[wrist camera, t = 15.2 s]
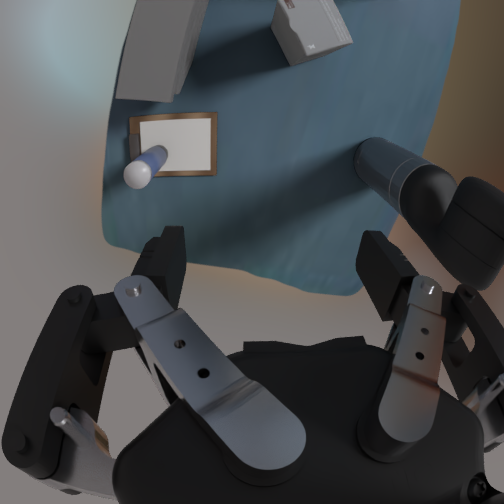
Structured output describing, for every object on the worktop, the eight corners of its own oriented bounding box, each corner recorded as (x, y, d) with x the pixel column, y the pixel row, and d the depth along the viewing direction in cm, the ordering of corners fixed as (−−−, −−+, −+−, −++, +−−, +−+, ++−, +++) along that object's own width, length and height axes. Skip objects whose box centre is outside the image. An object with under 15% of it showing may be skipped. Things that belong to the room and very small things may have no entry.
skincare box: (324, 56, 38) (361, 45, 25) (284, 68, 39) (307, 59, 26) (304, 14, 34) (332, -14, 20) (264, 25, 35) (276, -2, 22)
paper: (210, 118, 43) (210, 118, 43) (210, 169, 48) (210, 170, 47) (140, 121, 42) (139, 122, 42) (143, 171, 47) (143, 172, 47)
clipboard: (217, 112, 43) (216, 112, 41) (216, 173, 49) (215, 177, 47) (130, 116, 42) (127, 118, 40) (135, 176, 48) (131, 179, 46)
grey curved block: (184, 99, 41) (169, 102, 32) (140, 95, 40) (115, 98, 31) (218, -29, 29) (214, -55, 19) (173, -32, 27) (158, -56, 18)
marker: (168, 143, 44) (148, 161, 34) (169, 164, 46) (150, 188, 36) (147, 144, 44) (122, 162, 34) (148, 165, 46) (125, 189, 36)
